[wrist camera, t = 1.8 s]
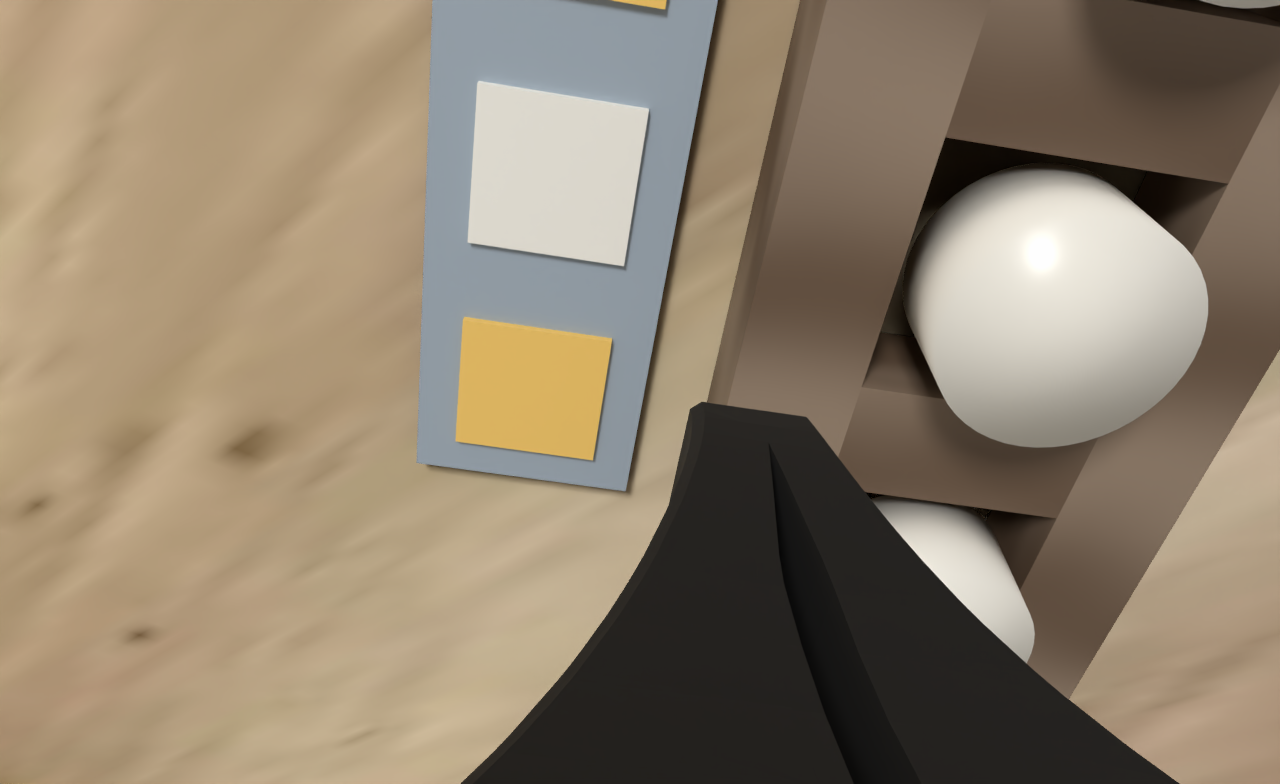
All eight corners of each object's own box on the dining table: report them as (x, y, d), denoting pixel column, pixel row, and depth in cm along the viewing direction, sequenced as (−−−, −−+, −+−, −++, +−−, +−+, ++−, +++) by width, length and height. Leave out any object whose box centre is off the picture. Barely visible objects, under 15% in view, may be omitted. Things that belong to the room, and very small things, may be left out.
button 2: (946, 144, 16) (988, 195, 14) (1184, 183, 17) (1259, 239, 15) (874, 358, 19) (900, 429, 17) (1083, 389, 19) (1137, 463, 17)
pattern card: (448, -320, 15) (441, -323, 14) (764, -260, 15) (767, -261, 14) (420, 452, 23) (415, 467, 22) (626, 481, 23) (625, 495, 22)
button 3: (833, 479, 20) (852, 557, 18) (1027, 506, 21) (1068, 586, 19) (785, 621, 23) (798, 705, 21) (960, 644, 23) (990, 728, 21)
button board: (974, -752, 12) (1041, -871, 10) (1687, -589, 13) (1893, -668, 11) (650, 644, 26) (649, 719, 24) (999, 687, 26) (1029, 765, 24)
